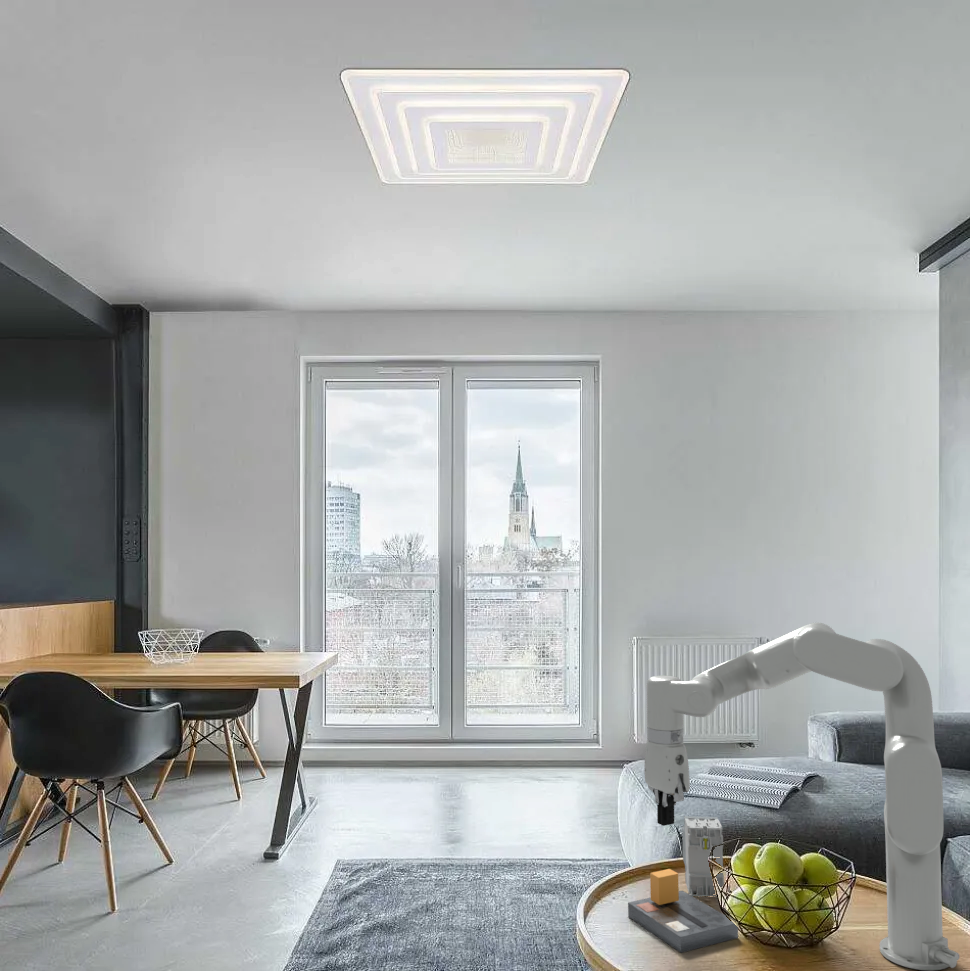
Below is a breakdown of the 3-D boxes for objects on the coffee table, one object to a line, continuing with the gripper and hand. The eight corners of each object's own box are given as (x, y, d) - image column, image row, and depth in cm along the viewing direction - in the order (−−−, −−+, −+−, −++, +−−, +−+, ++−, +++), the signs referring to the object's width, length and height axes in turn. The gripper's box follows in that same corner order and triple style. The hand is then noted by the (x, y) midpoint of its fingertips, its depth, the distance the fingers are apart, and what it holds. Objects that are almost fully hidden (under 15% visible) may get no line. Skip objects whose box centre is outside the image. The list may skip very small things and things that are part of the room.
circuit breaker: (714, 872, 219) (713, 808, 220) (724, 897, 205) (722, 828, 206) (682, 871, 220) (681, 807, 220) (689, 896, 206) (688, 827, 206)
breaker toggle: (678, 900, 195) (678, 873, 196) (659, 905, 193) (658, 877, 193) (670, 895, 198) (669, 868, 198) (650, 899, 196) (650, 872, 196)
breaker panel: (738, 937, 185) (737, 922, 185) (681, 952, 179) (680, 936, 179) (682, 904, 201) (682, 889, 202) (628, 916, 195) (628, 902, 196)
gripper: (702, 741, 191) (703, 831, 190) (657, 726, 204) (658, 811, 203) (673, 745, 187) (673, 837, 187) (629, 730, 201) (630, 816, 200)
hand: (665, 823), depth 195 cm, fingers closed
